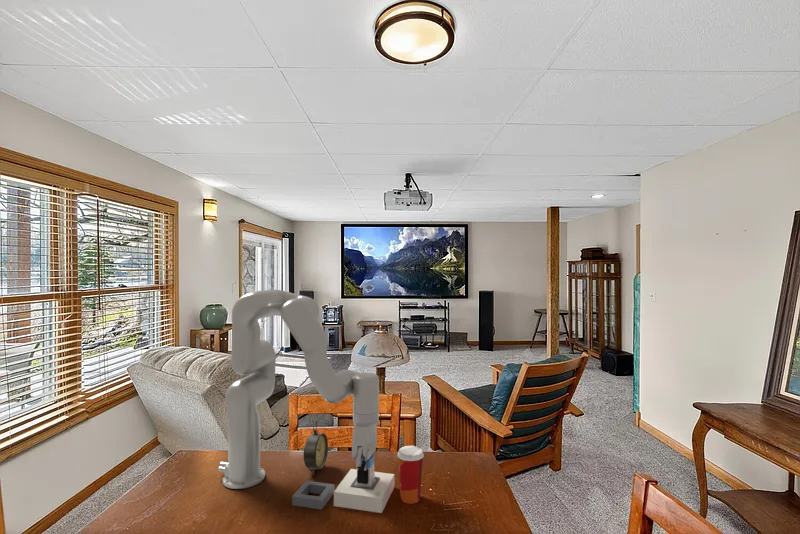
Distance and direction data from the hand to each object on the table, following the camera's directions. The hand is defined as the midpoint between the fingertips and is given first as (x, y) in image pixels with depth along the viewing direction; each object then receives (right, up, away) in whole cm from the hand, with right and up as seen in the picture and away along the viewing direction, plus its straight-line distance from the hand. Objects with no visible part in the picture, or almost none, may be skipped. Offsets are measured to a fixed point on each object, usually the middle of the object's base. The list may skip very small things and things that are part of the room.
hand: (365, 478), depth 124 cm
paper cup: (+13, -6, -1) cm, 14 cm away
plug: (0, -4, 0) cm, 4 cm away
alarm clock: (-18, -5, +16) cm, 24 cm away
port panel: (0, -5, 0) cm, 5 cm away
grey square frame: (-15, -5, -2) cm, 16 cm away
